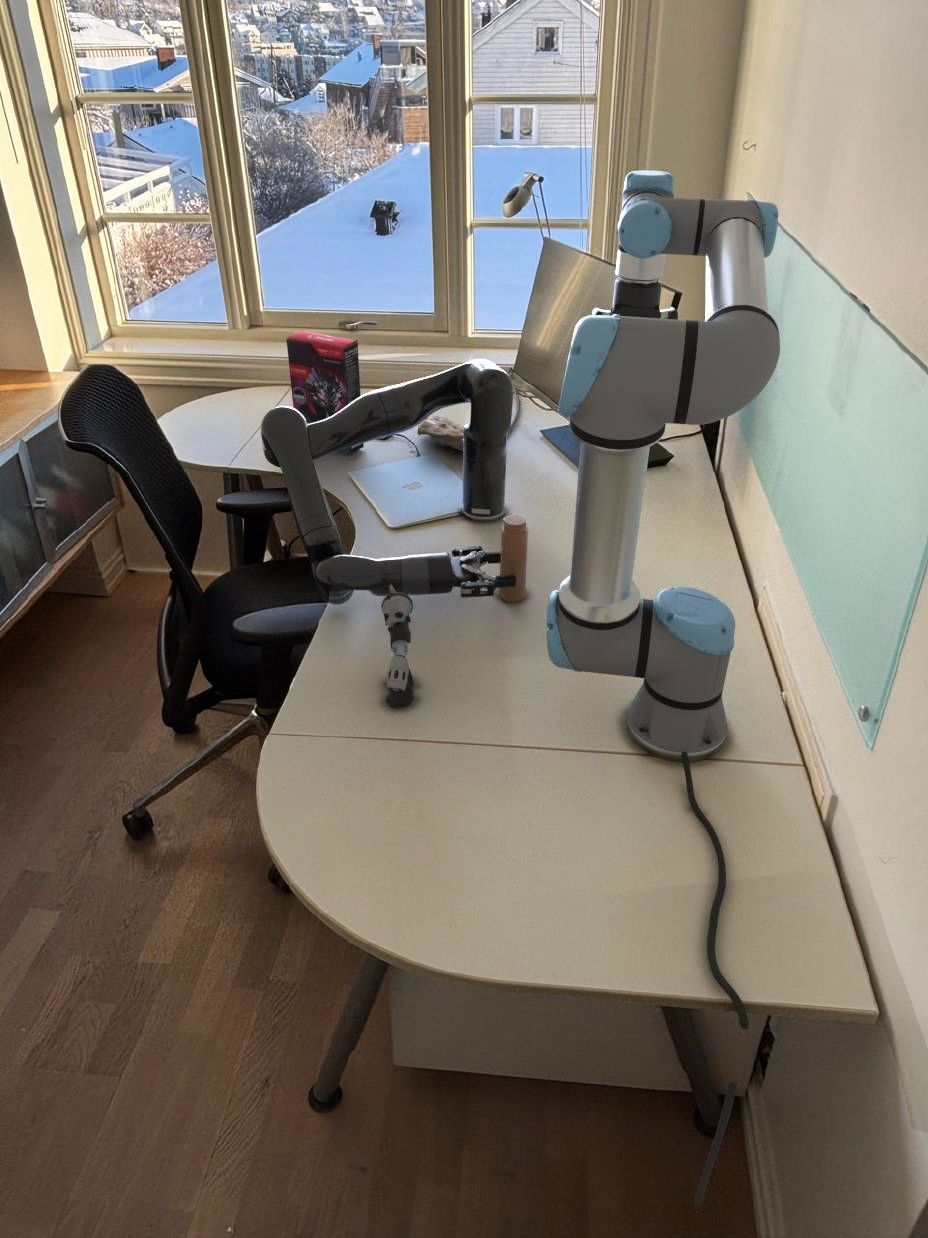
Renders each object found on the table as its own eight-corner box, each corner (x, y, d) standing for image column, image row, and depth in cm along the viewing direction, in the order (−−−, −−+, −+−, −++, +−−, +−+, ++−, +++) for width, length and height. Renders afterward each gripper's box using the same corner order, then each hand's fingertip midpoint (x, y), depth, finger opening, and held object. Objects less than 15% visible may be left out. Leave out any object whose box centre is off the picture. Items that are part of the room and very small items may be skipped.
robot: (415, 731, 142) (412, 624, 131) (384, 732, 142) (378, 624, 131) (414, 656, 158) (412, 555, 147) (386, 656, 158) (381, 555, 147)
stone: (401, 440, 228) (406, 416, 226) (420, 431, 242) (425, 408, 239) (481, 464, 225) (487, 440, 222) (495, 454, 238) (501, 431, 236)
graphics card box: (294, 443, 234) (283, 336, 218) (310, 434, 239) (300, 328, 224) (350, 457, 227) (343, 347, 212) (366, 447, 232) (360, 339, 217)
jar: (526, 601, 174) (530, 525, 165) (500, 602, 173) (503, 526, 164) (522, 587, 178) (526, 512, 169) (497, 588, 177) (499, 513, 168)
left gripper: (421, 571, 178) (504, 566, 180) (429, 612, 166) (517, 606, 168) (420, 537, 174) (505, 532, 176) (428, 577, 162) (519, 570, 164)
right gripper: (708, 271, 151) (689, 396, 163) (557, 273, 150) (549, 399, 161) (722, 283, 145) (701, 412, 157) (565, 284, 143) (556, 415, 155)
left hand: (511, 568), depth 172 cm, fingers open, 8 cm apart
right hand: (624, 406), depth 159 cm, fingers open, 13 cm apart
